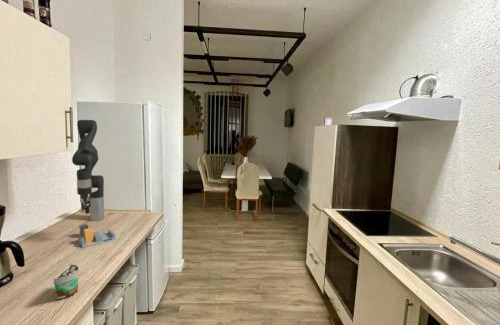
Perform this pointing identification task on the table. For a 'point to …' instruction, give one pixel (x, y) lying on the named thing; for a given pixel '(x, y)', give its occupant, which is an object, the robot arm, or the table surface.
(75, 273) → the food container
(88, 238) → the orange plug
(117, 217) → the table surface
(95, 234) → the comb board
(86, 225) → the black plug
